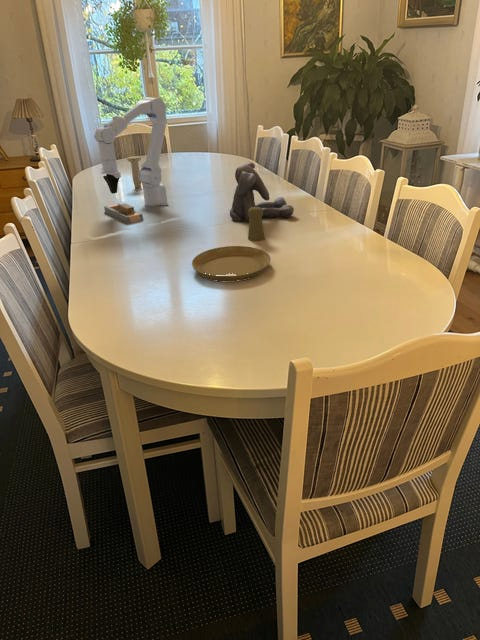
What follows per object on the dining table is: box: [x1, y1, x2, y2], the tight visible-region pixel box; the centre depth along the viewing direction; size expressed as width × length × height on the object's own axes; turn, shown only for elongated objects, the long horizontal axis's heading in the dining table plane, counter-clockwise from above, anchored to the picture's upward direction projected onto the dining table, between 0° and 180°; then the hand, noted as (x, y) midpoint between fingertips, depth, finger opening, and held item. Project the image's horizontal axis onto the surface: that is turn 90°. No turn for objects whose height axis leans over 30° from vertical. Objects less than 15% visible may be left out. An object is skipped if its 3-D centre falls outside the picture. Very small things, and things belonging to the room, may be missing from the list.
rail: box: [103, 203, 145, 225], centre depth 212 cm, size 8×22×4 cm, turn 36°
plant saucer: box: [191, 245, 272, 282], centre depth 159 cm, size 24×24×3 cm
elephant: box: [229, 162, 295, 223], centre depth 202 cm, size 21×25×21 cm
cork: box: [247, 207, 266, 242], centre depth 181 cm, size 6×6×11 cm
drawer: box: [118, 202, 135, 215], centre depth 209 cm, size 3×8×5 cm, turn 36°
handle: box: [127, 155, 142, 190], centre depth 255 cm, size 5×6×15 cm
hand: (114, 193), depth 213 cm, fingers closed
